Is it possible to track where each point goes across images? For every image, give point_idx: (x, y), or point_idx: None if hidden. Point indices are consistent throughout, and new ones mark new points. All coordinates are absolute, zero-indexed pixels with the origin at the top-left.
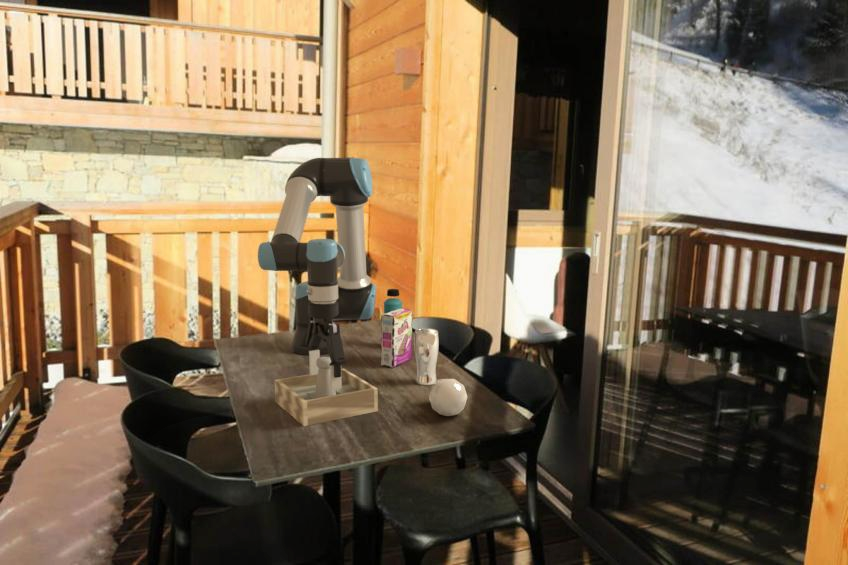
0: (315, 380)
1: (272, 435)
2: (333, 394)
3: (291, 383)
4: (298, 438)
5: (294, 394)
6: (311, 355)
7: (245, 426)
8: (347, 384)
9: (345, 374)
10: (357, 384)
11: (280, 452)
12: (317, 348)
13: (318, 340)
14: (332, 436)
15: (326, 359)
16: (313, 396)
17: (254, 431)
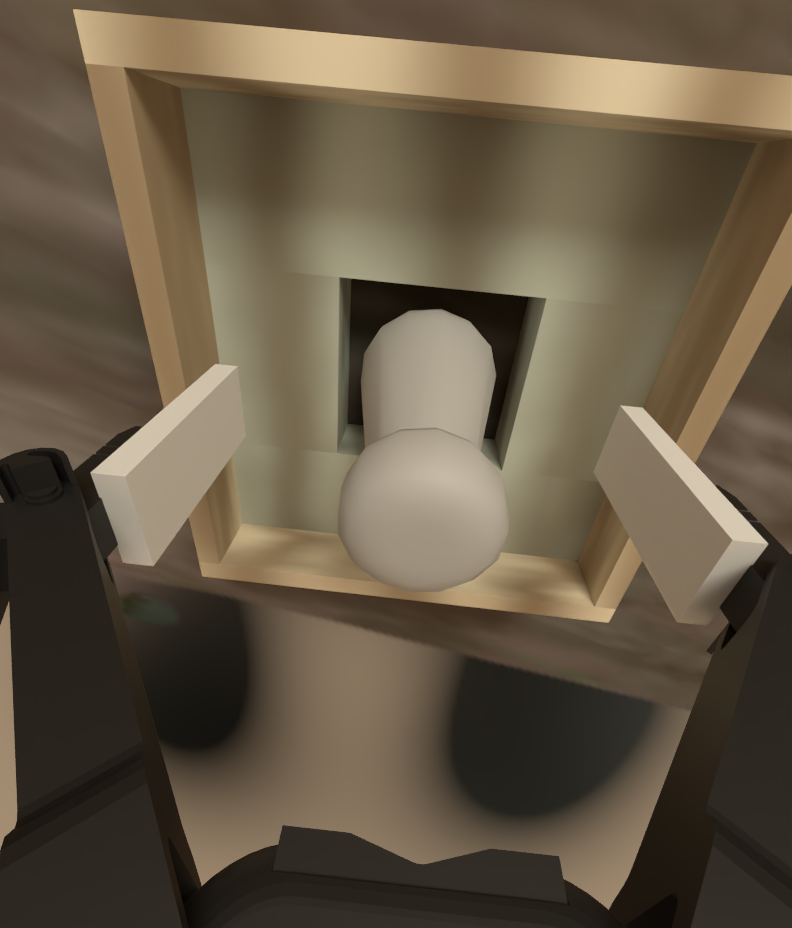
0: (201, 348)
1: (560, 628)
2: (489, 366)
3: (221, 492)
4: (654, 592)
5: (478, 603)
6: (171, 526)
7: (431, 645)
8: (304, 113)
9: (212, 80)
10: (483, 110)
11: (694, 659)
12: (79, 491)
13: (122, 644)
14: (759, 511)
15: (476, 554)
16: (342, 400)
17: (488, 645)
